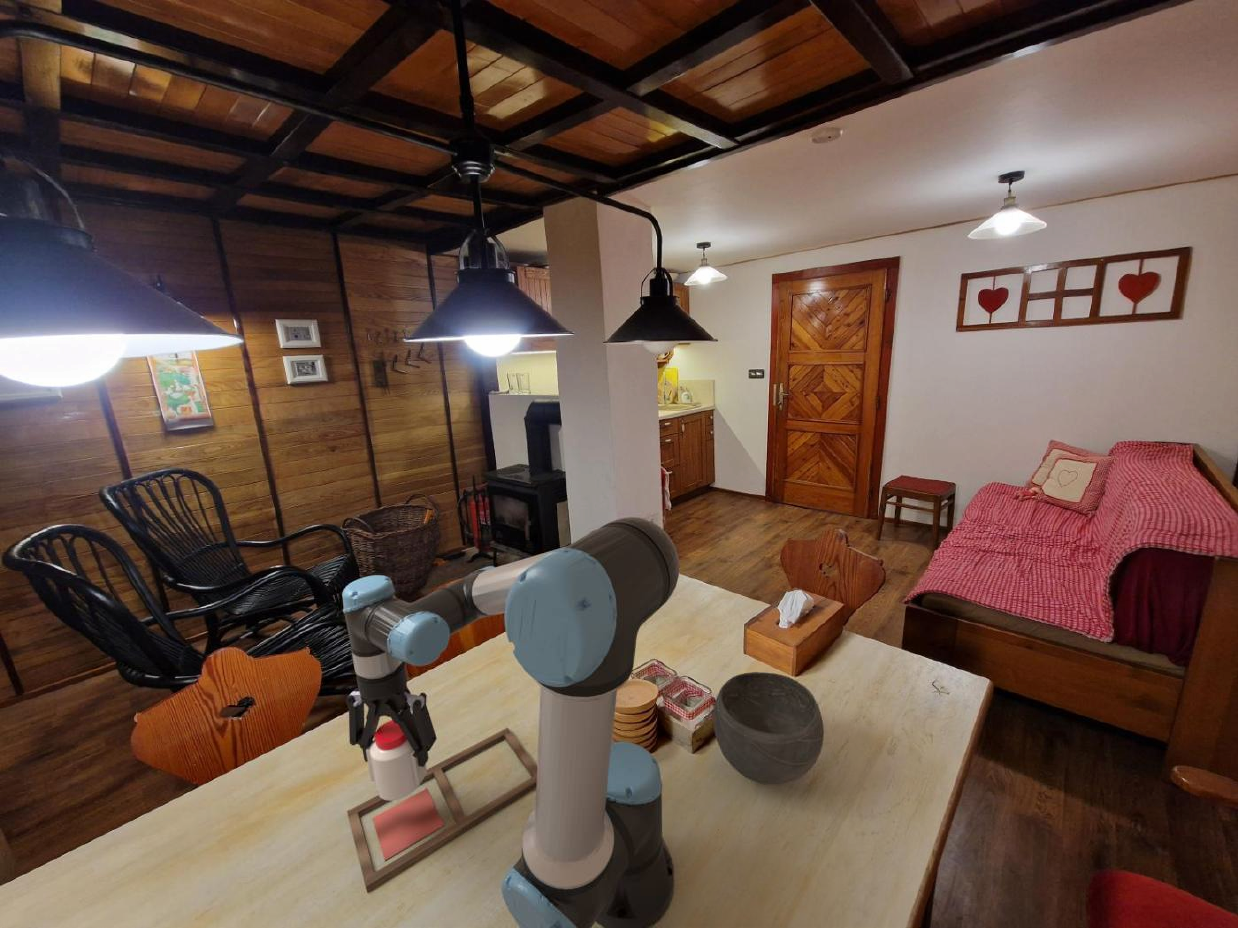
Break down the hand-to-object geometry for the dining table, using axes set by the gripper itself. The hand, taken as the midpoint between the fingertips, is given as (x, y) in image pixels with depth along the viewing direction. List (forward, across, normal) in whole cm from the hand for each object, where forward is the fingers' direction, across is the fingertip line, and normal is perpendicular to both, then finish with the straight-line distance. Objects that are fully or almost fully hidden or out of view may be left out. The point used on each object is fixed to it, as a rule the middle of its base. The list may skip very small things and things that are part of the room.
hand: (399, 776), depth 89 cm
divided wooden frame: (+10, -6, -5) cm, 13 cm away
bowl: (+10, -67, -20) cm, 71 cm away
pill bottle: (+1, 0, 0) cm, 1 cm away
